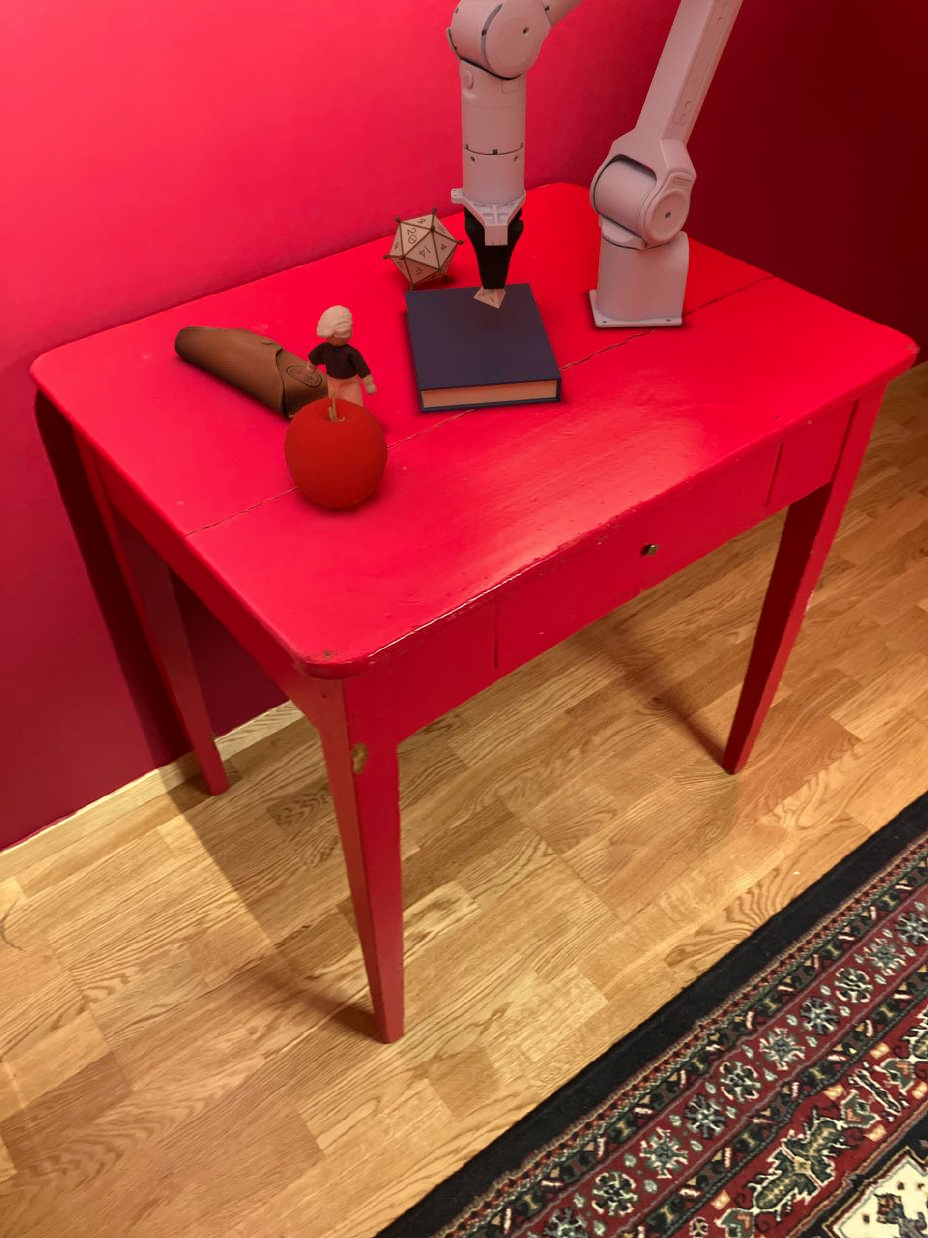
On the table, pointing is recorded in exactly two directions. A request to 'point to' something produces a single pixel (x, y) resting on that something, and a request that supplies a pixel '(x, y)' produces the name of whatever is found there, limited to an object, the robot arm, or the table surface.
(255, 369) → the sunglasses case
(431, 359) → the book
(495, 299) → the tetrahedral die
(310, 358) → the grandmother figurine
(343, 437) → the fruit
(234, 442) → the table surface
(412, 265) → the game die
